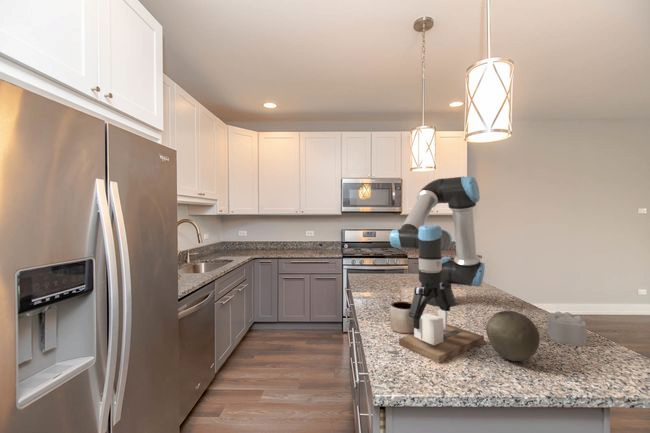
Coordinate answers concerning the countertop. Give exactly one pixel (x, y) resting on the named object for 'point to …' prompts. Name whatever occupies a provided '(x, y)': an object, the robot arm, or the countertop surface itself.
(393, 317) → the planter
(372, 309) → the countertop surface
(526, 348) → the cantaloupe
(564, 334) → the lumpy-topped squat cylinder
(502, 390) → the countertop surface
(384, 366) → the countertop surface
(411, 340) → the fader board
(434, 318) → the fader cap
